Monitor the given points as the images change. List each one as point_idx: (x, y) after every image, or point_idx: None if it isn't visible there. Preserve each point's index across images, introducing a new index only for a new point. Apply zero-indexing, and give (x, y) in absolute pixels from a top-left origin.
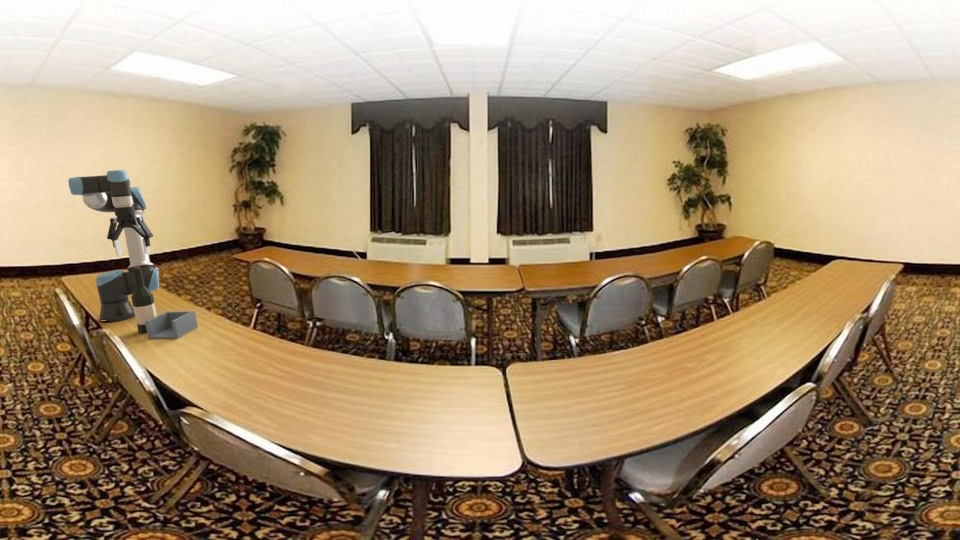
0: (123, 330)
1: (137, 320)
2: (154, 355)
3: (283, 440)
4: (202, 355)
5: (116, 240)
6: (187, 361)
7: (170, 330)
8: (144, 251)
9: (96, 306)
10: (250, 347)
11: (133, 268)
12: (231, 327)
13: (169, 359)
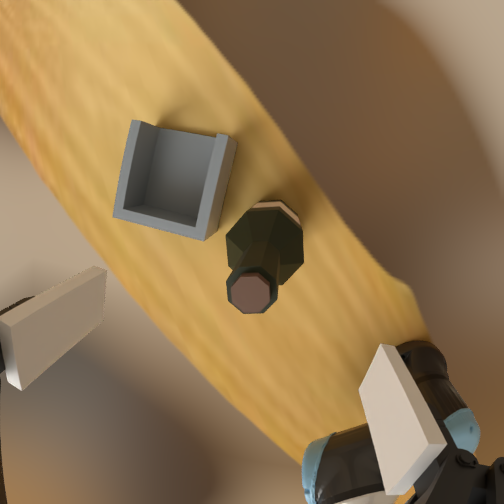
0: (354, 252)
1: (291, 212)
2: (169, 25)
3: None
4: (78, 27)
5: (414, 461)
6: (97, 2)
7: (192, 184)
8: (90, 276)
9: None
10: (18, 67)
11: (265, 280)
12: (62, 191)
13: (130, 7)
